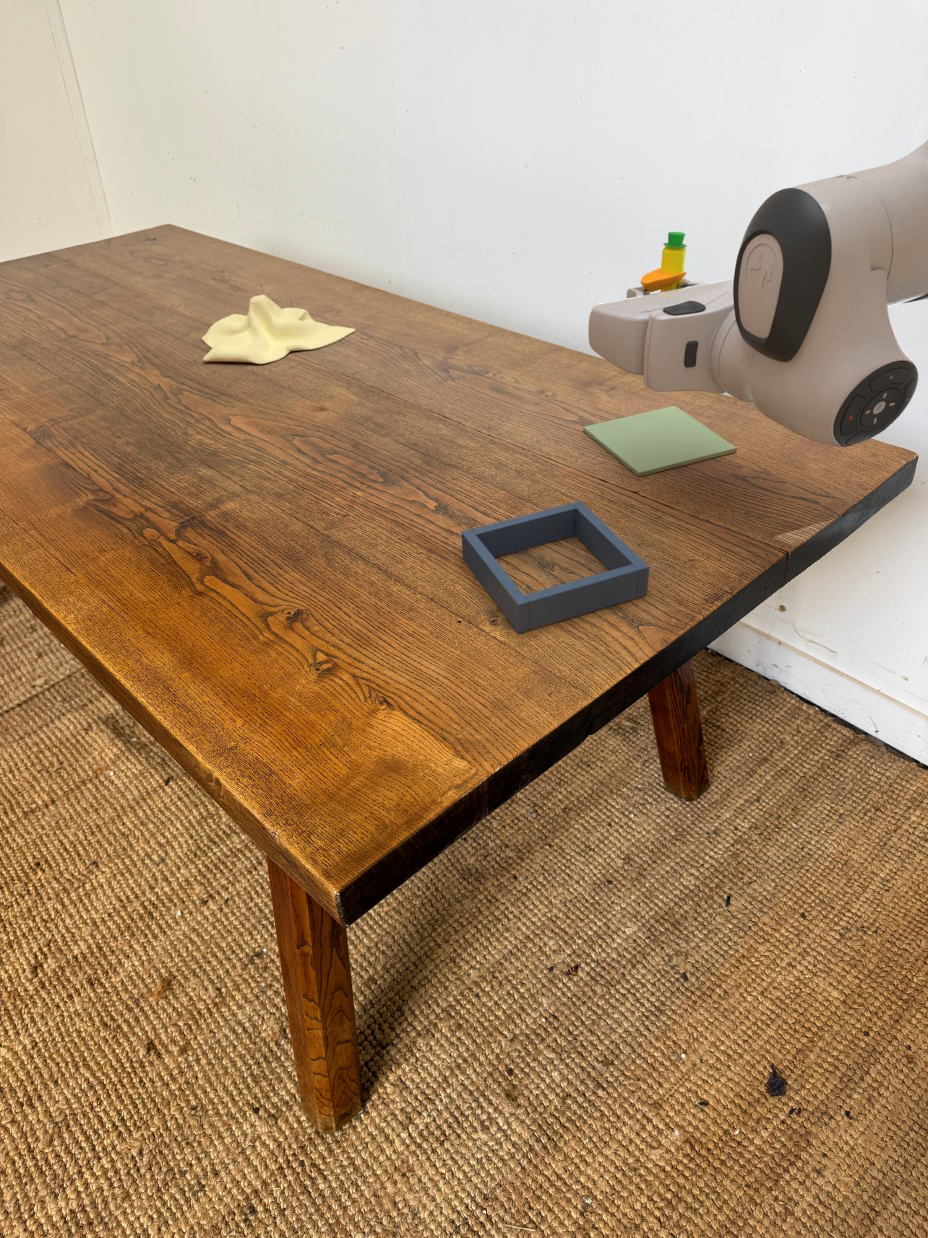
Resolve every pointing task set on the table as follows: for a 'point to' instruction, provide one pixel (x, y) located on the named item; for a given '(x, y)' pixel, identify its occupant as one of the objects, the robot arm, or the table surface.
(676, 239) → the toy figure
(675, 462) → the felt mat
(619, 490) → the table surface
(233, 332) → the cloth
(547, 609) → the open square frame
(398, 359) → the table surface
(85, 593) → the table surface
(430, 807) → the table surface
